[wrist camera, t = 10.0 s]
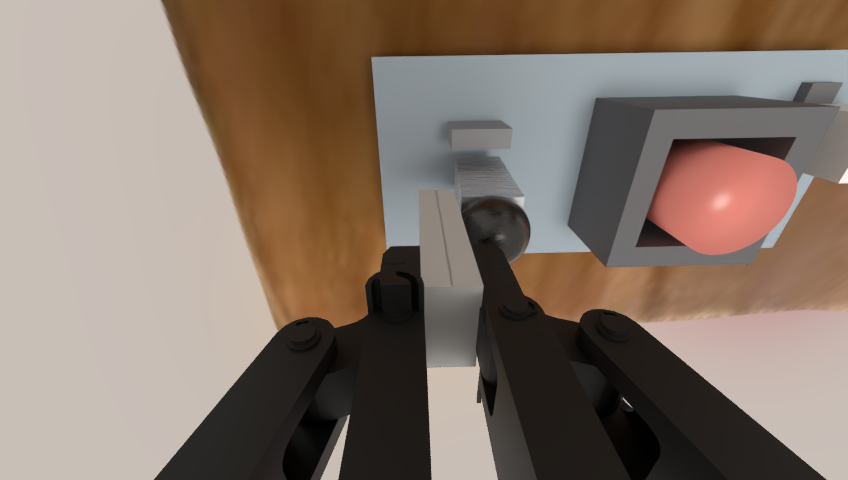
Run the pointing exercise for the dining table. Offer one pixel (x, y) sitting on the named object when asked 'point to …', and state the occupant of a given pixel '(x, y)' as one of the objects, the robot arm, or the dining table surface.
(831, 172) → the slider
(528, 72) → the panel
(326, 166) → the dining table surface
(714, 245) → the button
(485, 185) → the lever
